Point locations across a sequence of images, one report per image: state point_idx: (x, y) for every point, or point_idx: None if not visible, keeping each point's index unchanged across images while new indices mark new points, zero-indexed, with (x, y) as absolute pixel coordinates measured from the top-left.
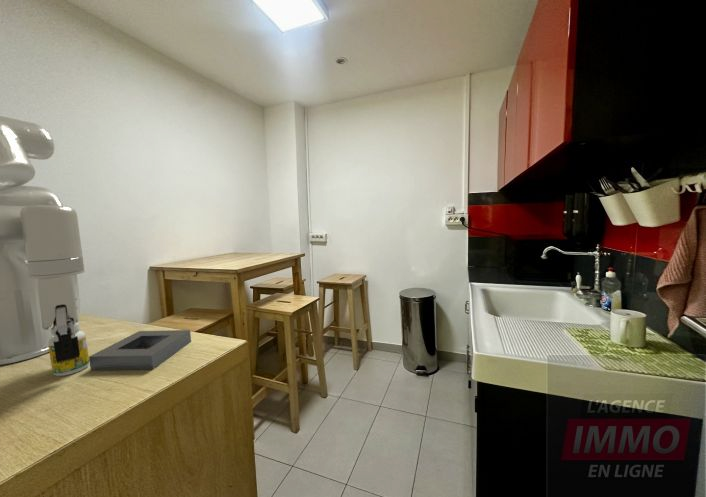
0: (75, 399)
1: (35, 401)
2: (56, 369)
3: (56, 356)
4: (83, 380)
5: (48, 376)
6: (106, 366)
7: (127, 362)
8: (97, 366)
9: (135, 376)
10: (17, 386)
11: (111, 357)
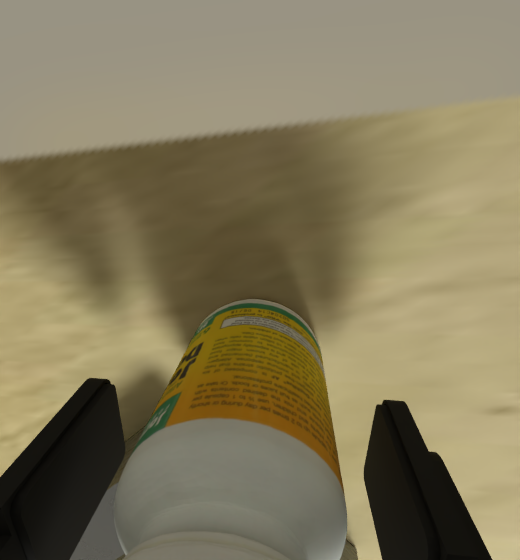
0: None
1: (3, 246)
2: (203, 327)
3: (72, 401)
4: (94, 374)
5: (257, 279)
6: (127, 449)
7: None
8: None
9: None
10: (239, 172)
11: None
